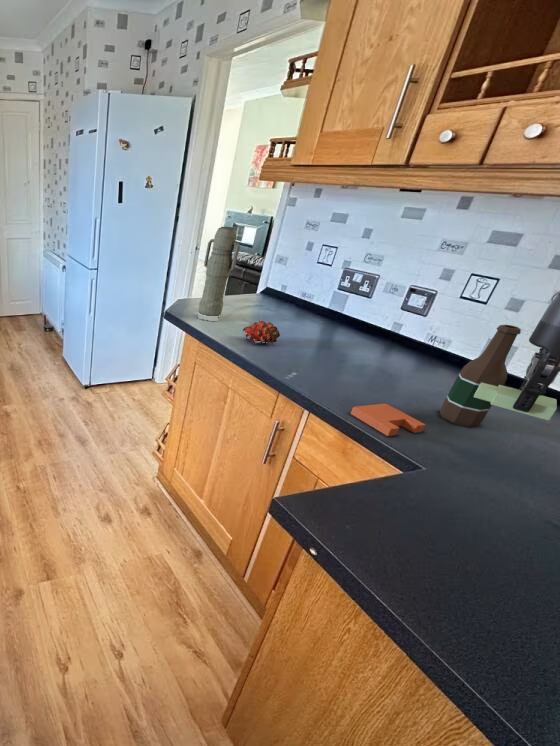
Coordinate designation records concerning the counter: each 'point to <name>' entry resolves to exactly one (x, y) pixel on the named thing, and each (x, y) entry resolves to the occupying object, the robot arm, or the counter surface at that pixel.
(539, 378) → the robot arm
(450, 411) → the beer bottle
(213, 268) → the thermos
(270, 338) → the dragon fruit
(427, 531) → the counter surface
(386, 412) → the orange pad
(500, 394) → the sage pad
